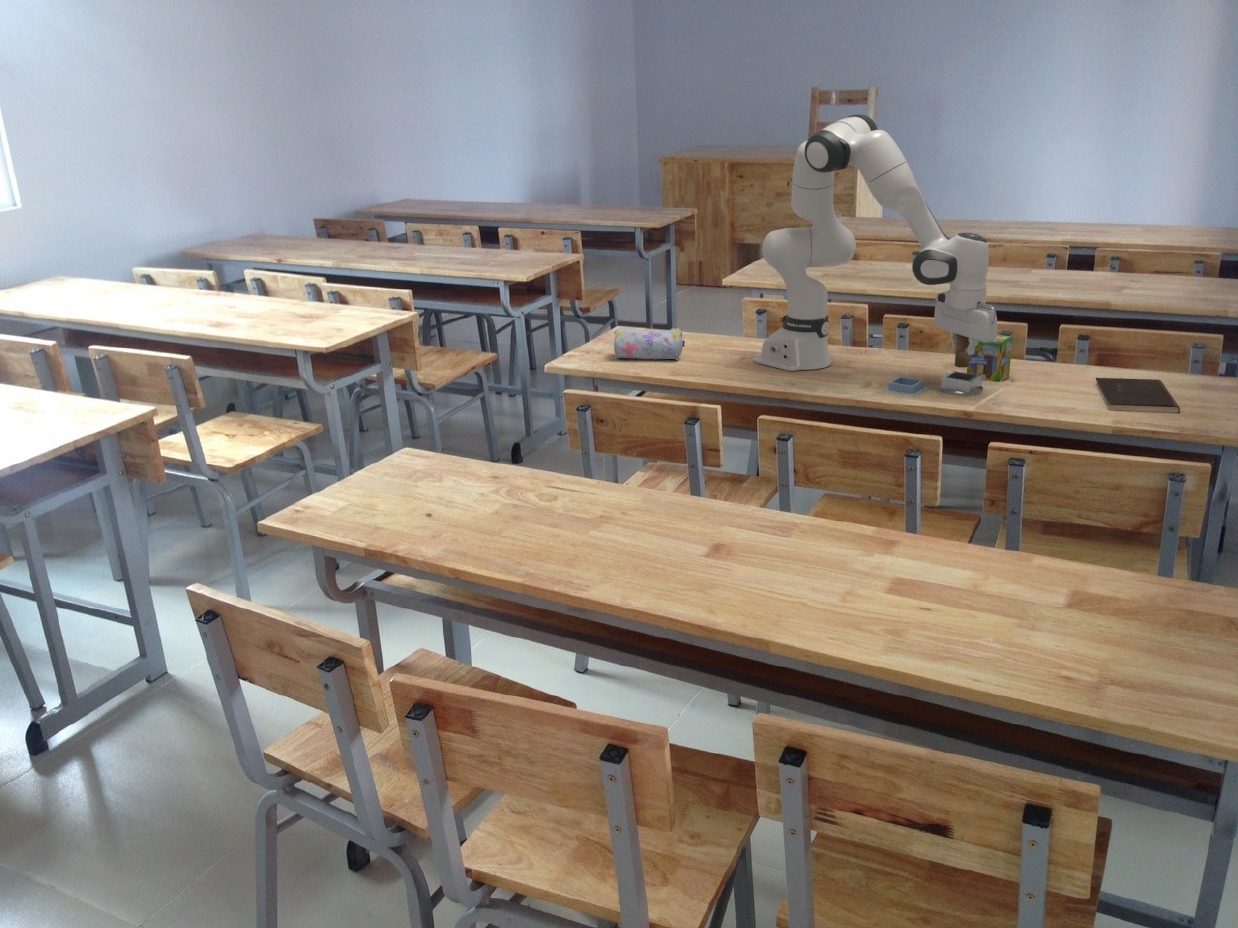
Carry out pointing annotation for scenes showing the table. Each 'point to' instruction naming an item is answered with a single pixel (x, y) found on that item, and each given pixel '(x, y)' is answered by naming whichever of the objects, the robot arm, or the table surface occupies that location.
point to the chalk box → (992, 359)
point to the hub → (961, 384)
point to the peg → (962, 352)
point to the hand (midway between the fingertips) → (963, 352)
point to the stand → (906, 386)
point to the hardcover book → (1137, 395)
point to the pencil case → (648, 344)
